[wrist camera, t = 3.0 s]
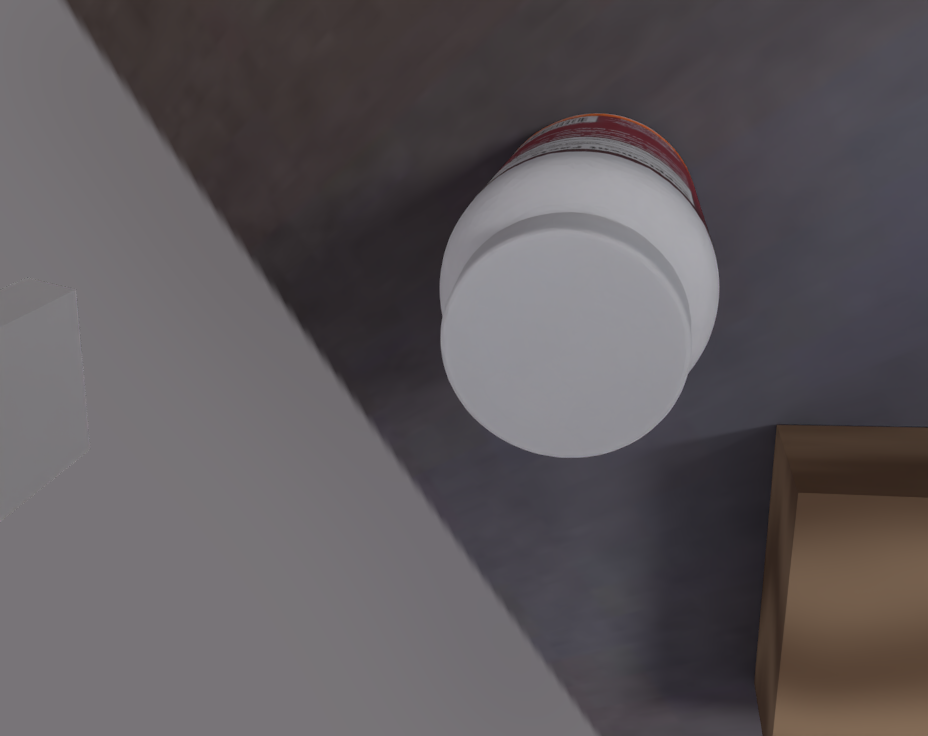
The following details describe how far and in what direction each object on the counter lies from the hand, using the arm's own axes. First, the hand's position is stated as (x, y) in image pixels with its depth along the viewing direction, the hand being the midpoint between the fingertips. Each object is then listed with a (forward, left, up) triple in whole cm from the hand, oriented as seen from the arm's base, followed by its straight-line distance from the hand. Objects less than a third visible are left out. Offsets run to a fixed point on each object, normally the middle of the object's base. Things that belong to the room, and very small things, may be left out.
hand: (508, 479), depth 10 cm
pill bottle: (0, 0, -15) cm, 15 cm away
